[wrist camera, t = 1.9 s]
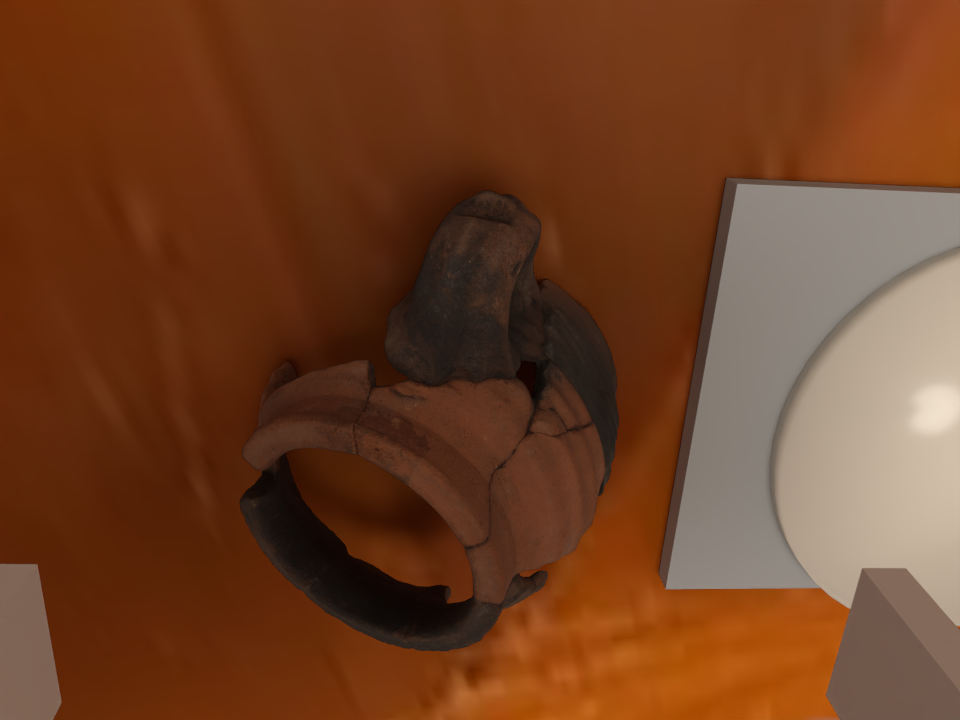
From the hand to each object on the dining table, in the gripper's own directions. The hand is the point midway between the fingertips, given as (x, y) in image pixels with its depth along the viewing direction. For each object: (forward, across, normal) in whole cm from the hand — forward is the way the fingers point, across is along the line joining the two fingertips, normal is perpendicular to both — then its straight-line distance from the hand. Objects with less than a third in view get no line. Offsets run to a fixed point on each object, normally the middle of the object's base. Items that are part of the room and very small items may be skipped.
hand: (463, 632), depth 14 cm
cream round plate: (+11, +16, -2) cm, 20 cm away
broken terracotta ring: (+12, 0, 0) cm, 12 cm away
